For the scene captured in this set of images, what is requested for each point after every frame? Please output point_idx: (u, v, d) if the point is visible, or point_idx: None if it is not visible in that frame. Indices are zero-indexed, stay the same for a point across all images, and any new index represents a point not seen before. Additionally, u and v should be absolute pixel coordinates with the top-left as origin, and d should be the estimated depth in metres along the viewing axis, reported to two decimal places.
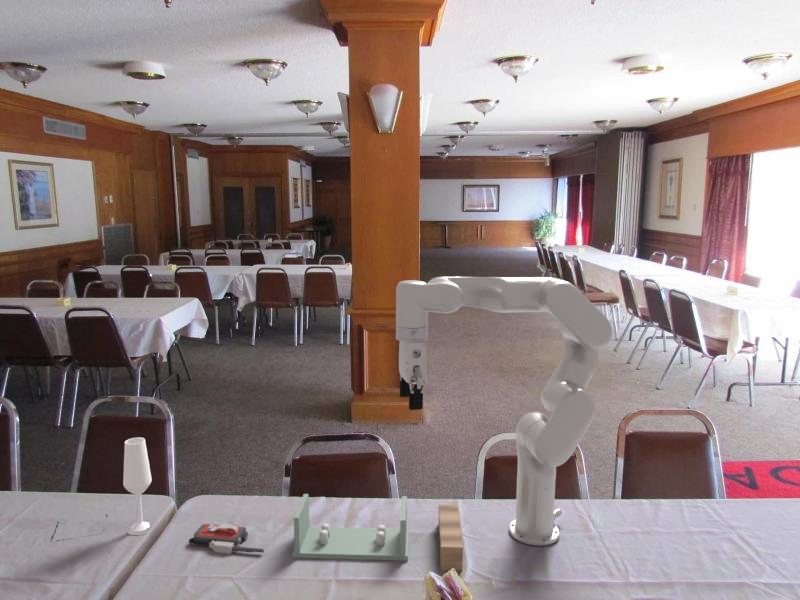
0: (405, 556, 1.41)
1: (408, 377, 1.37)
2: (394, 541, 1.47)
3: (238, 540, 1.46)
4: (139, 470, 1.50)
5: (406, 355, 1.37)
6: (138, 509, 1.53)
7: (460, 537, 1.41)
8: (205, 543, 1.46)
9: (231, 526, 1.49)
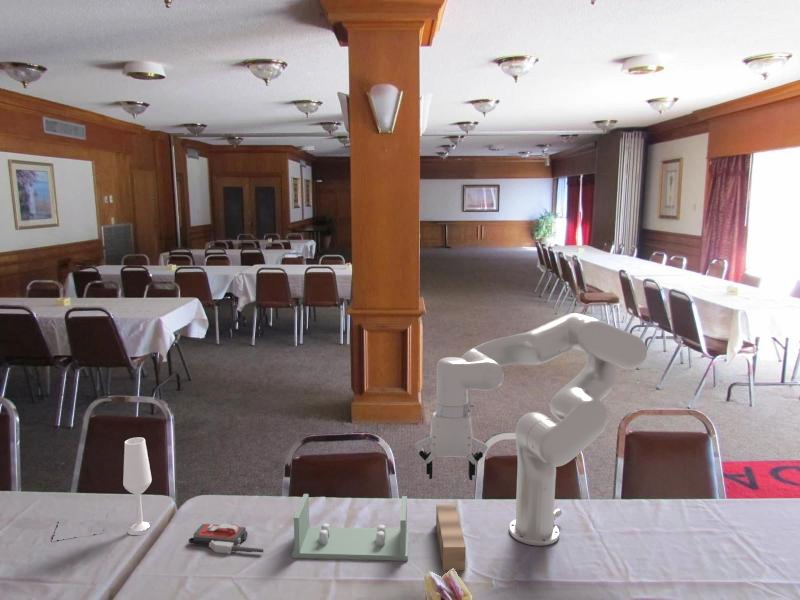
0: (405, 556, 1.41)
1: (471, 450, 1.42)
2: (394, 541, 1.47)
3: (238, 540, 1.46)
4: (139, 470, 1.50)
5: (468, 430, 1.41)
6: (138, 509, 1.53)
7: (462, 537, 1.41)
8: (205, 543, 1.46)
9: (231, 526, 1.49)
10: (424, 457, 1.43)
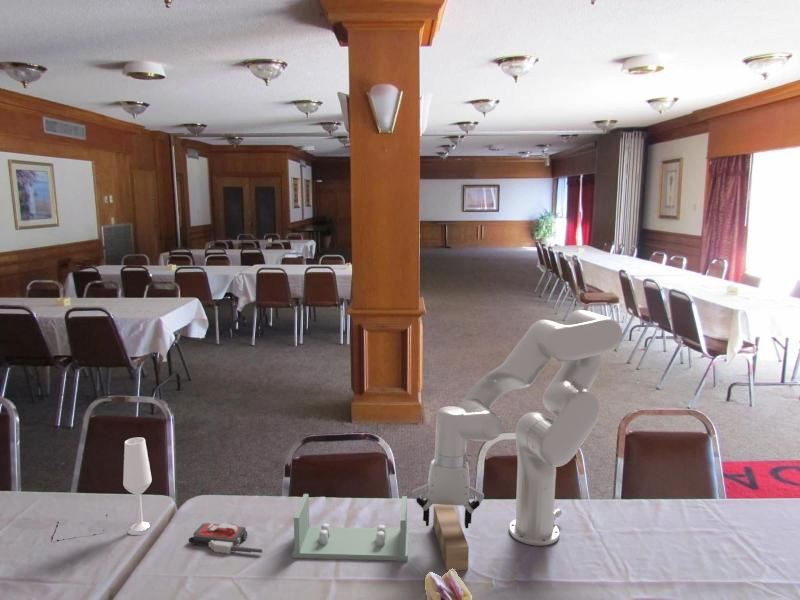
0: (405, 556, 1.41)
1: (468, 499, 1.43)
2: (394, 541, 1.47)
3: (237, 540, 1.46)
4: (139, 470, 1.50)
5: (466, 480, 1.42)
6: (138, 509, 1.53)
7: (463, 536, 1.41)
8: (204, 542, 1.46)
9: (231, 526, 1.49)
10: (421, 504, 1.45)
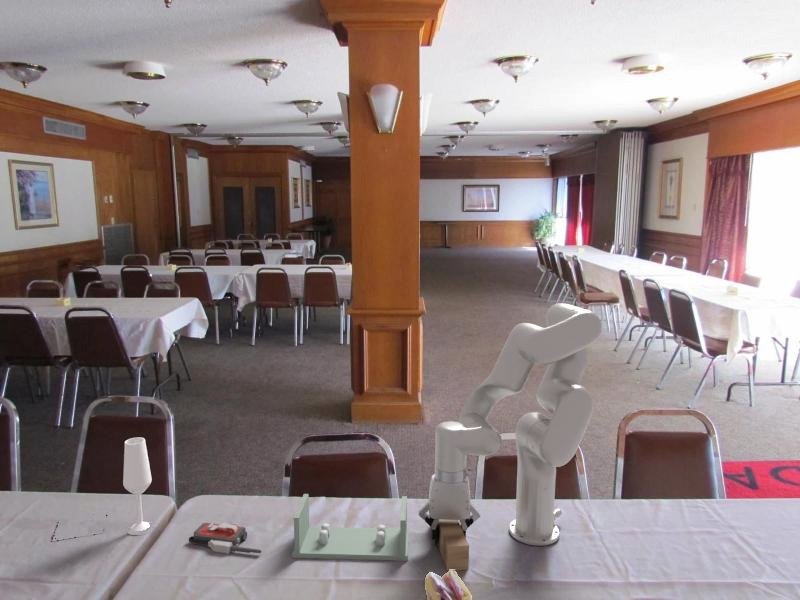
0: (405, 556, 1.41)
1: (469, 513, 1.44)
2: (394, 541, 1.47)
3: (237, 540, 1.46)
4: (139, 470, 1.50)
5: (466, 494, 1.43)
6: (138, 509, 1.53)
7: (463, 535, 1.41)
8: (204, 542, 1.47)
9: (230, 526, 1.49)
10: (430, 523, 1.46)
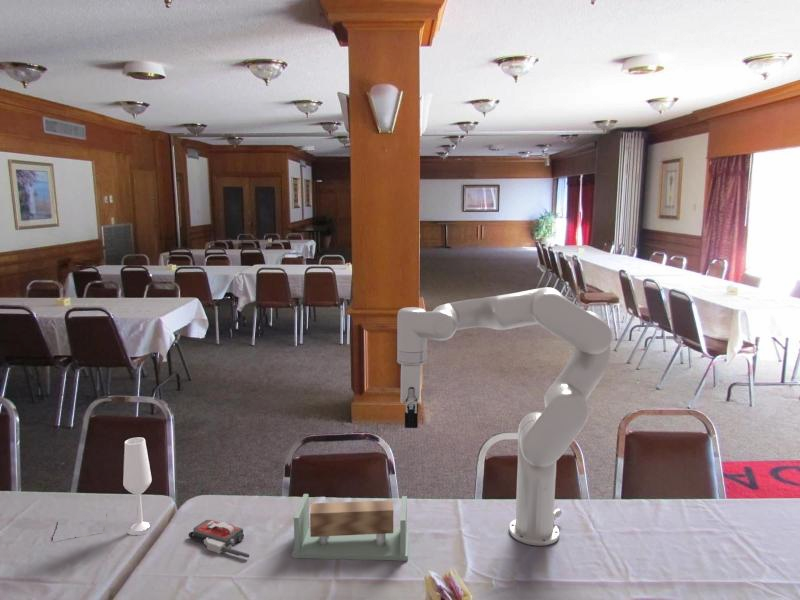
0: (405, 556, 1.41)
1: None
2: (394, 541, 1.47)
3: (230, 541, 1.46)
4: (139, 470, 1.50)
5: None
6: (138, 509, 1.53)
7: (375, 501, 1.49)
8: (201, 539, 1.48)
9: (227, 526, 1.49)
10: (414, 409, 1.47)
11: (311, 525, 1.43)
